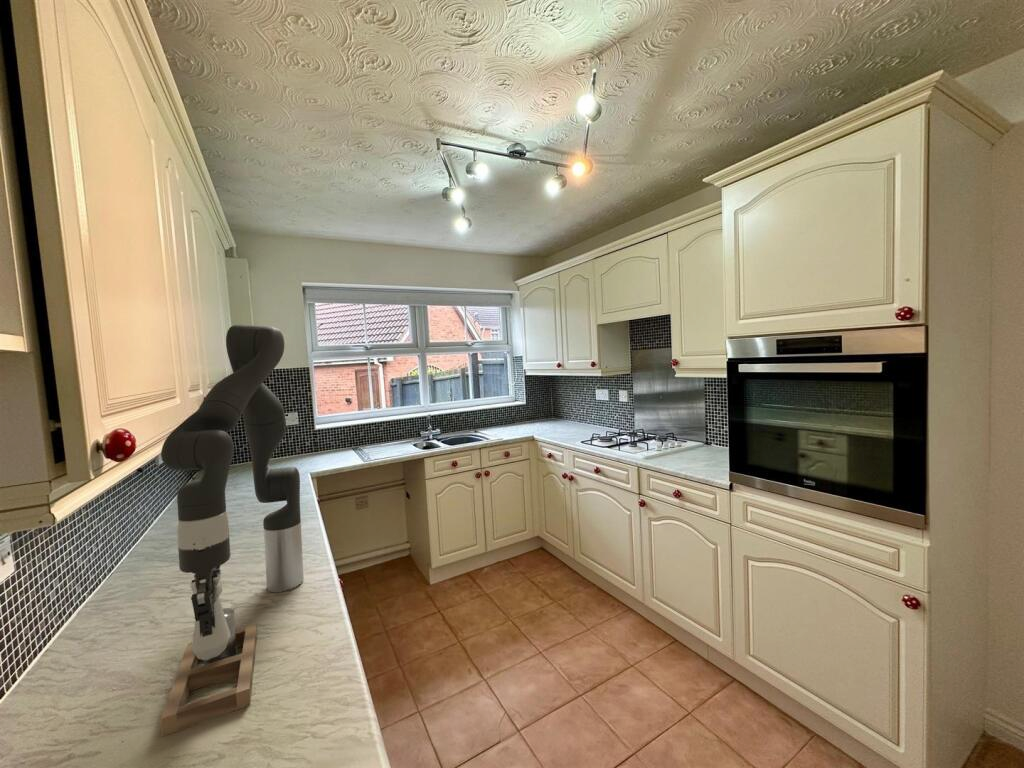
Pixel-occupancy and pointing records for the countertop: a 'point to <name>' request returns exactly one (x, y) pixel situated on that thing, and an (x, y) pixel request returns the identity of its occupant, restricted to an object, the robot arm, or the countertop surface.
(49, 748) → the countertop surface
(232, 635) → the pepper shaker
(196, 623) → the salt shaker
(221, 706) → the spice rail
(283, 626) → the countertop surface
